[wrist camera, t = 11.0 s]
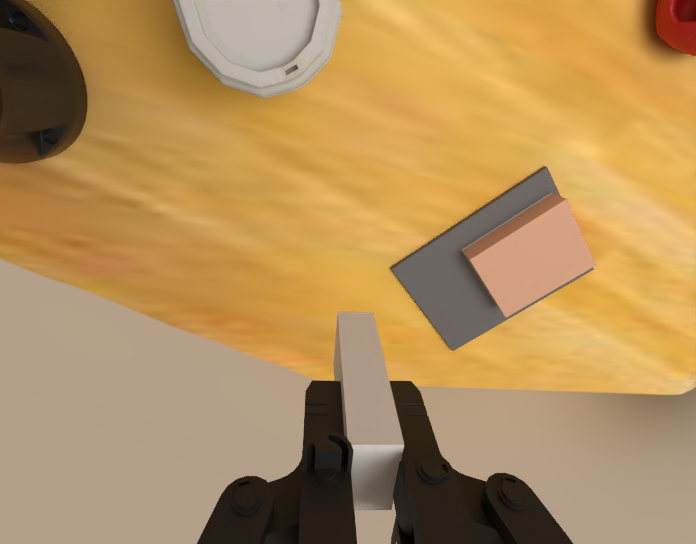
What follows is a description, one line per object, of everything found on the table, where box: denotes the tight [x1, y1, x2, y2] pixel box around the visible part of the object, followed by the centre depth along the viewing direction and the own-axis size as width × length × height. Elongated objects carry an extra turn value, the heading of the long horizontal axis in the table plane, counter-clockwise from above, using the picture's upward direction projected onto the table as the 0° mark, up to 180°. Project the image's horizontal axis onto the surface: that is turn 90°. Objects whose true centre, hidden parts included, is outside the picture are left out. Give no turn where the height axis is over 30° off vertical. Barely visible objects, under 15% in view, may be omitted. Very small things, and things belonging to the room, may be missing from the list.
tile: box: [461, 192, 596, 317], centre depth 46 cm, size 10×3×12 cm
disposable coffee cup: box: [172, 0, 342, 98], centre depth 29 cm, size 11×11×15 cm
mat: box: [391, 166, 594, 351], centre depth 48 cm, size 16×21×1 cm
